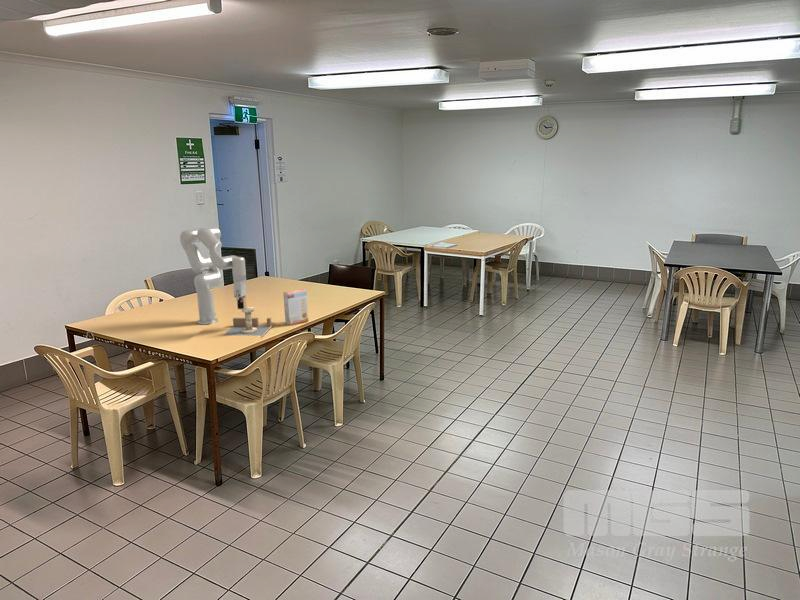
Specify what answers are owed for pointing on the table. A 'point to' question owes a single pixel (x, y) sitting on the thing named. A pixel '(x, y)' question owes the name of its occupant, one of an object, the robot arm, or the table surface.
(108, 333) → the table surface
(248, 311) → the bobbin
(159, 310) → the table surface
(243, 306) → the copper block
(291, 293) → the cracker box
